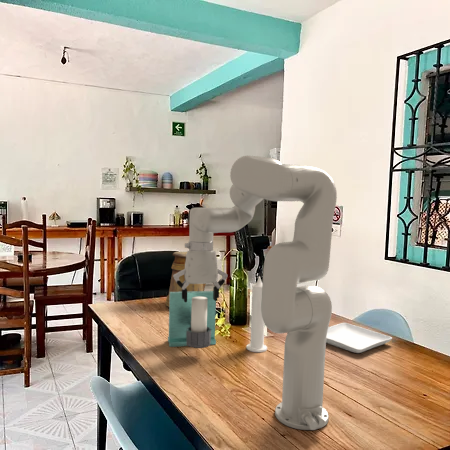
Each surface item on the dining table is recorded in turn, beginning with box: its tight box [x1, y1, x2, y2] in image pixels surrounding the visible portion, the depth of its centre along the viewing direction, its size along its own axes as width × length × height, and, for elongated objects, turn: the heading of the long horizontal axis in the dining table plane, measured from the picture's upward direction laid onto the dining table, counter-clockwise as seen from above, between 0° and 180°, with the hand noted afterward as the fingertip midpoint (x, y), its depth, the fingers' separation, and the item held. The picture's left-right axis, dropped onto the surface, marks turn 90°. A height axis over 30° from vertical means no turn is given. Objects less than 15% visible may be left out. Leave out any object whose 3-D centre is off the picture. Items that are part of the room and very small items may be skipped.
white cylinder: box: [191, 297, 208, 333], centre depth 139 cm, size 5×5×14 cm
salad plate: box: [326, 322, 393, 354], centre depth 158 cm, size 21×21×3 cm
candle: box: [246, 276, 268, 353], centre depth 148 cm, size 7×7×25 cm
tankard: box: [165, 251, 207, 308], centre depth 202 cm, size 18×24×25 cm
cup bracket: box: [167, 290, 217, 349], centre depth 145 cm, size 20×16×18 cm
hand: (200, 300), depth 138 cm, fingers open, 9 cm apart
